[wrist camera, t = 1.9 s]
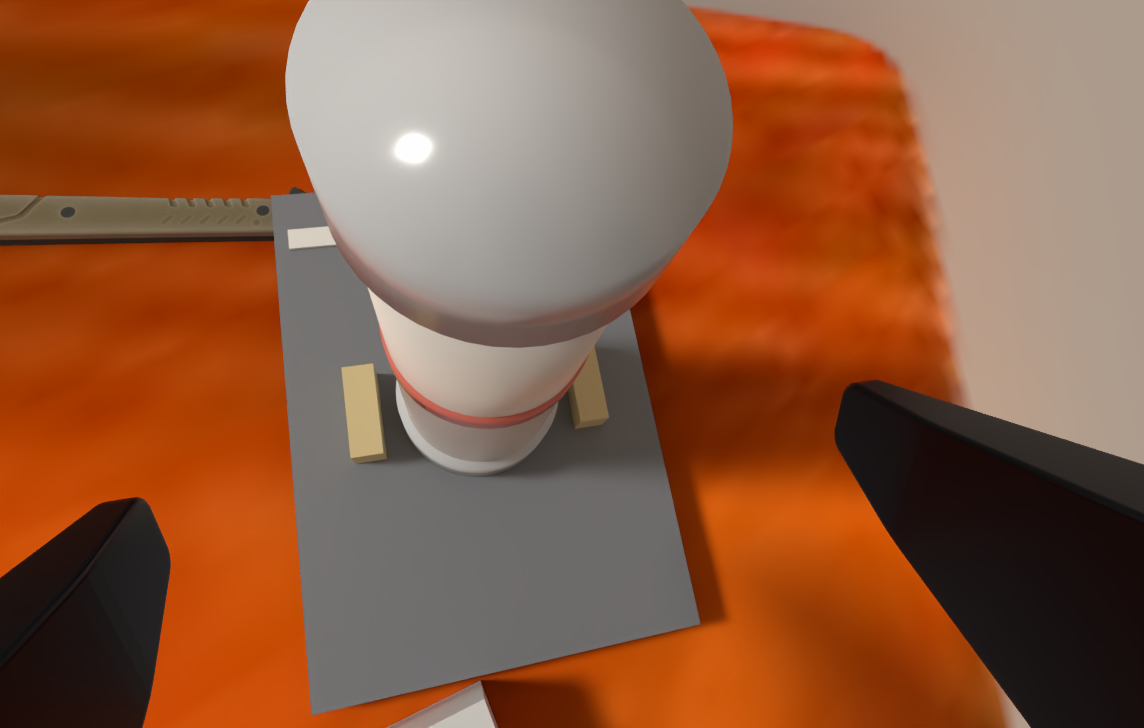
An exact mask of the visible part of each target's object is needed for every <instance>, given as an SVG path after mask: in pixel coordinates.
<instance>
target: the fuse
mask: <svg viewBox="0 0 1144 728" xmlns="http://www.w3.org/2000/svg"><path fill="white" fill-rule="evenodd" d="M286 102H287V108H288V113H289V118H290V123H291V128H292V131H293V134H294V136H295V139H296V142H297V145H298V147H299V150H300V153H301V156H302V158H303V161H304V164H305V166H306V169H307V171H308V174H309V177H310V179H311V182H312V185H313V187H314V190H315V193H316V195H317V198H318V201H319V203H320V206H321V208H322V211H323V214H324V216H325V219H326V222H327V224H328V227H329V230H330V232H331V235H332V237H333V239H334V241H335V243H336V245H337V246H338V248H339V250H340V252H341V254H342V256H343V257H344V259H345V260H346V262H347V263H348V264H349V266H350V267H351V268H352V270H353V271H354V272H355V274H356V275H357V276H358V278H359V279H360V280H361V281H362V282H363V283H364V284H365V285H366V286H367V287H368V291H369V294H370V297H371V300H372V303H373V306H374V309H375V312H376V316H377V319H378V322H379V330H380V335H381V340H382V344H383V347H384V350H385V353H386V356H387V359H388V361H389V364H390V367H391V370H392V371H393V373H394V375H395V377H396V379H397V380H396V402H397V406H398V411H399V414H400V417H401V420H402V422H403V425H404V428H405V430H406V433H407V435H408V437H409V439H410V440H411V442H412V444H413V445H414V446H415V448H416V449H417V450H418V451H419V452H420V453H421V454H422V455H423V457H425V458H426V459H427V460H428V461H430V462H431V463H432V464H434V465H436V466H437V467H439V468H441V469H443V470H445V471H448V472H450V473H454V474H457V475H462V476H469V477H482V476H490V475H494V474H498V473H501V472H504V471H506V470H509V469H511V468H512V467H514V466H516V465H518V464H519V463H520V462H522V461H523V460H524V459H526V458H527V457H528V456H529V455H530V454H531V453H532V452H533V451H534V449H535V448H536V447H537V446H538V444H539V443H540V442H541V440H542V439H543V437H544V436H545V435H546V433H547V431H548V430H549V428H550V426H551V424H552V422H553V420H554V417H555V414H556V410H557V407H558V401H559V400H560V399H561V398H562V397H563V396H564V394H565V393H566V392H567V391H568V389H569V388H570V387H571V385H572V384H573V382H574V381H575V379H576V378H577V376H578V375H579V373H580V371H581V370H582V368H583V366H584V365H585V362H586V360H587V358H588V355H589V353H590V351H591V350H592V348H593V347H594V345H595V344H596V342H597V341H598V339H599V338H600V336H601V334H602V333H603V331H604V330H605V328H606V327H607V325H608V324H609V323H611V322H612V321H614V320H615V319H617V318H618V317H619V316H621V315H622V314H624V313H625V312H627V311H628V310H629V309H631V308H632V307H633V306H634V305H635V304H636V303H637V302H638V301H639V300H640V299H641V298H642V297H643V296H644V295H646V293H647V292H648V291H649V290H650V288H651V287H652V286H653V285H654V283H655V282H656V281H657V280H658V278H659V277H660V276H661V274H662V273H663V272H664V270H665V269H666V267H667V266H668V265H669V263H670V262H671V260H672V259H673V258H674V256H675V255H676V254H677V252H678V251H679V249H680V248H681V247H682V245H683V244H684V242H685V241H686V240H687V238H688V237H689V236H690V234H691V233H692V231H693V230H694V229H695V227H696V226H697V224H698V223H699V222H700V220H701V219H702V218H703V216H704V215H705V213H706V212H707V210H708V209H709V207H710V205H711V203H712V201H713V200H714V198H715V196H716V194H717V193H718V191H719V188H720V186H721V183H722V180H723V178H724V175H725V172H726V170H727V166H728V161H729V156H730V152H731V147H732V132H733V116H732V105H731V97H730V93H729V89H728V84H727V80H726V76H725V73H724V70H723V68H722V65H721V63H720V60H719V57H718V55H717V52H716V51H715V49H714V47H713V45H712V43H711V41H710V39H709V37H708V36H707V34H706V32H705V30H704V29H703V27H702V26H701V25H700V23H699V22H698V20H697V19H696V17H695V16H694V15H693V13H692V12H691V11H690V9H689V8H688V7H687V6H686V5H685V4H684V3H683V1H682V0H309V2H308V3H307V5H306V7H305V9H304V11H303V13H302V15H301V17H300V19H299V21H298V23H297V25H296V29H295V32H294V35H293V38H292V41H291V45H290V48H289V53H288V60H287V68H286Z"/></svg>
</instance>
